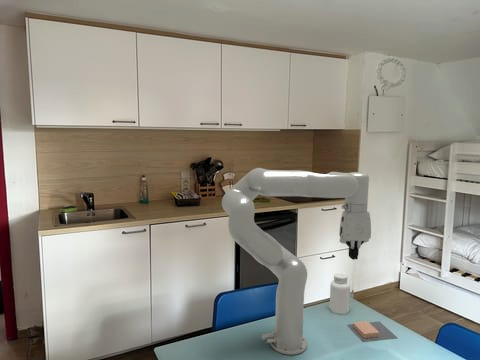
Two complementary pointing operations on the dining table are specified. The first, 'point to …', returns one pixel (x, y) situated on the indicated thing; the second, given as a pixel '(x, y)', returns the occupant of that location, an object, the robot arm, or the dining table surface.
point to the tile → (366, 329)
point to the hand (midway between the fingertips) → (353, 258)
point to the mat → (383, 331)
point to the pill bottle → (340, 294)
